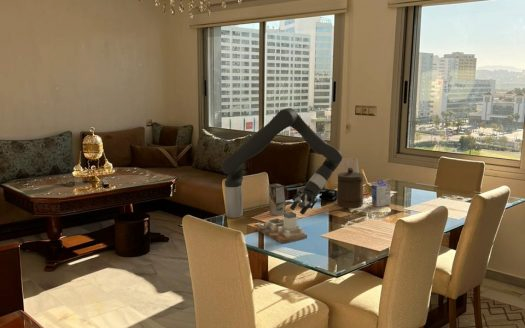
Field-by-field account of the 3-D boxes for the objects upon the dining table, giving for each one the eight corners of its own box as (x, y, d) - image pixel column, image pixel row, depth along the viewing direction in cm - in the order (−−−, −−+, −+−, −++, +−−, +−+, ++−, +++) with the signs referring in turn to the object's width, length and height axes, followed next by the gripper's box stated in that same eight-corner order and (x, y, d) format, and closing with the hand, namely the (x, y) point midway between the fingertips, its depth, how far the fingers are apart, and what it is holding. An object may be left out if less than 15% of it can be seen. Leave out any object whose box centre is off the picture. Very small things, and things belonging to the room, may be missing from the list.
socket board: (256, 229, 243) (256, 221, 242) (279, 224, 250) (279, 216, 249) (282, 243, 223) (281, 234, 222) (306, 237, 230) (306, 228, 229)
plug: (283, 233, 233) (283, 213, 231) (291, 231, 235) (291, 211, 233) (288, 235, 229) (288, 215, 227) (296, 233, 231) (296, 213, 229)
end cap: (338, 200, 294) (338, 189, 293) (333, 202, 289) (333, 191, 287) (324, 197, 300) (324, 187, 299) (318, 200, 295) (318, 189, 293)
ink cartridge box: (385, 202, 286) (385, 178, 283) (390, 205, 281) (391, 180, 278) (371, 204, 282) (371, 180, 279) (376, 207, 277) (377, 182, 274)
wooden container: (367, 203, 284) (368, 167, 280) (354, 209, 273) (354, 171, 269) (345, 199, 294) (346, 164, 290) (332, 205, 283) (332, 168, 279)
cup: (312, 203, 288) (312, 187, 286) (312, 207, 279) (312, 191, 277) (296, 203, 289) (296, 187, 287) (295, 207, 280) (295, 191, 278)
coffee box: (286, 214, 268) (286, 186, 265) (276, 216, 265) (275, 187, 262) (278, 210, 276) (278, 183, 273) (268, 212, 273) (268, 184, 270)
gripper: (302, 177, 239) (283, 203, 236) (319, 183, 227) (299, 210, 224) (311, 186, 243) (292, 212, 240) (328, 192, 231) (309, 219, 227)
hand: (296, 211), depth 232 cm, fingers open, 8 cm apart
